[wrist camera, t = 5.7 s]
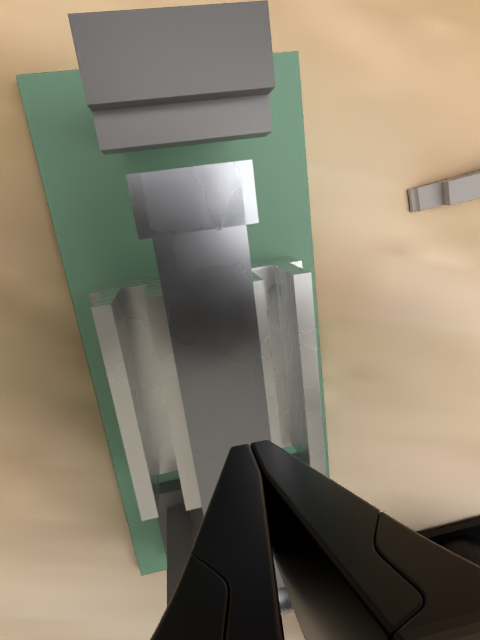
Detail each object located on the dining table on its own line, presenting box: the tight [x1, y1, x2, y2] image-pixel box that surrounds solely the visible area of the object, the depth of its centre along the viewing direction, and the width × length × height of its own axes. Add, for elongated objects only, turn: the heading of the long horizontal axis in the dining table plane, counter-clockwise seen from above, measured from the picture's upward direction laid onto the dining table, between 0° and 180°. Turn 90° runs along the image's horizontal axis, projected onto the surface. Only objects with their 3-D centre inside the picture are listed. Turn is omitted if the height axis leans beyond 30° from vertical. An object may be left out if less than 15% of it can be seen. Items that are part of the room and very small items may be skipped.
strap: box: [126, 160, 294, 615], centre depth 13 cm, size 3×16×2 cm, turn 7°
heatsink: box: [89, 256, 327, 521], centre depth 16 cm, size 8×8×4 cm
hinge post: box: [157, 453, 299, 606], centre depth 17 cm, size 7×4×6 cm, turn 97°
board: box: [16, 51, 330, 576], centre depth 18 cm, size 10×22×1 cm, turn 7°
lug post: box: [68, 1, 275, 155], centre depth 12 cm, size 4×2×7 cm, turn 97°
